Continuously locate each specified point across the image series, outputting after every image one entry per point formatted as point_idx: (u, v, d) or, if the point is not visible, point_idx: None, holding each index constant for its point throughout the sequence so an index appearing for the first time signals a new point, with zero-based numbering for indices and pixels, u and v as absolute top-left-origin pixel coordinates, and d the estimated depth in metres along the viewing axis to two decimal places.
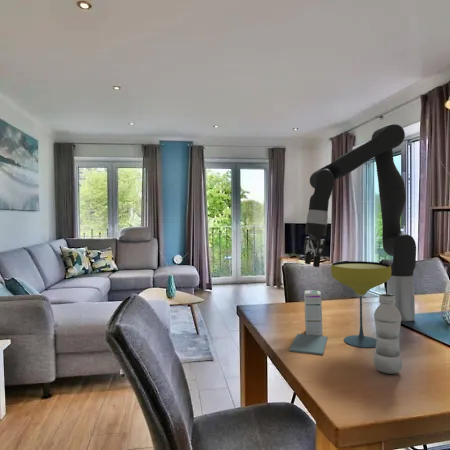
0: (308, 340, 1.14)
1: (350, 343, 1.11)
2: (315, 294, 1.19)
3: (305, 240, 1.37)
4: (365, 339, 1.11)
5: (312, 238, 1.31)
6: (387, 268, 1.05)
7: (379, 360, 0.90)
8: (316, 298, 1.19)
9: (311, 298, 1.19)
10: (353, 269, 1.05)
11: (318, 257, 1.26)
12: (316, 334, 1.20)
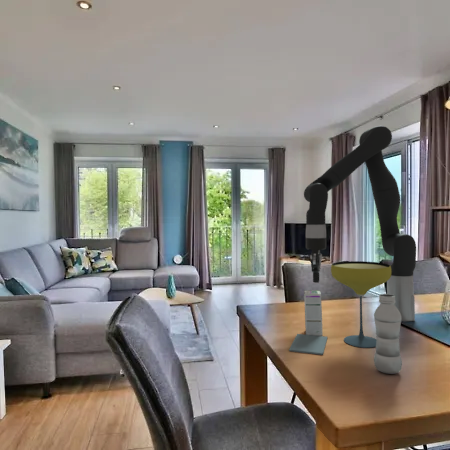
0: (308, 340, 1.14)
1: (350, 343, 1.11)
2: (315, 294, 1.19)
3: None
4: (365, 339, 1.11)
5: None
6: (387, 268, 1.05)
7: (379, 360, 0.90)
8: (316, 298, 1.19)
9: (311, 298, 1.19)
10: (353, 269, 1.05)
11: (315, 273, 1.31)
12: (316, 334, 1.20)
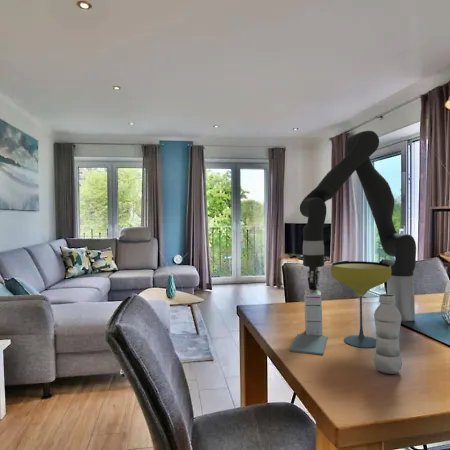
0: (308, 340, 1.14)
1: (350, 343, 1.11)
2: (315, 295, 1.18)
3: None
4: (365, 339, 1.11)
5: None
6: (387, 268, 1.05)
7: (379, 360, 0.90)
8: (316, 299, 1.18)
9: (311, 299, 1.19)
10: (353, 269, 1.05)
11: None
12: (316, 334, 1.19)
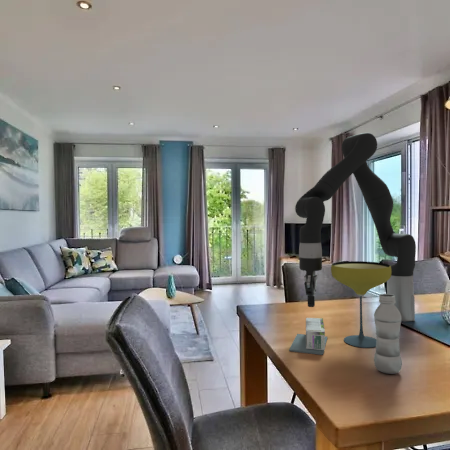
0: None
1: (350, 343, 1.11)
2: None
3: None
4: (365, 339, 1.11)
5: None
6: (387, 268, 1.05)
7: (379, 360, 0.90)
8: None
9: None
10: (353, 269, 1.05)
11: (310, 296, 1.18)
12: None
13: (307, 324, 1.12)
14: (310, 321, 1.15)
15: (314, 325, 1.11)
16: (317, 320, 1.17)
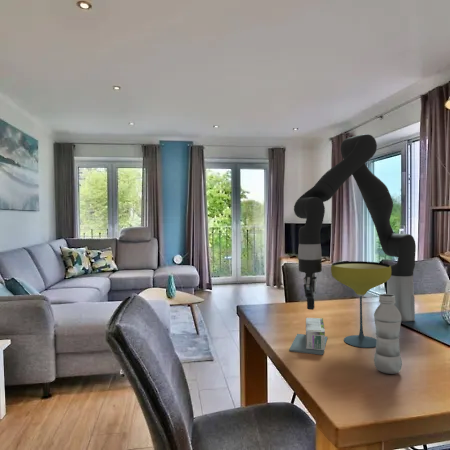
0: None
1: (350, 343, 1.11)
2: None
3: None
4: (365, 339, 1.11)
5: None
6: (387, 268, 1.05)
7: (379, 360, 0.90)
8: None
9: None
10: (353, 269, 1.05)
11: (310, 299, 1.15)
12: None
13: (307, 324, 1.12)
14: (310, 321, 1.15)
15: (314, 325, 1.11)
16: (317, 320, 1.17)
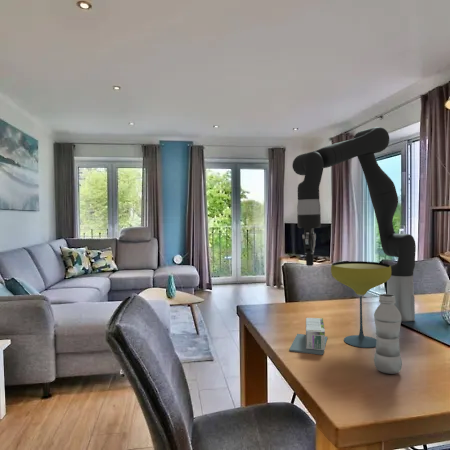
0: None
1: (350, 343, 1.11)
2: None
3: None
4: (365, 339, 1.11)
5: None
6: (387, 268, 1.05)
7: (379, 360, 0.90)
8: None
9: None
10: (353, 269, 1.05)
11: (309, 255, 1.15)
12: None
13: (307, 324, 1.12)
14: (310, 321, 1.15)
15: (314, 325, 1.11)
16: (317, 320, 1.17)
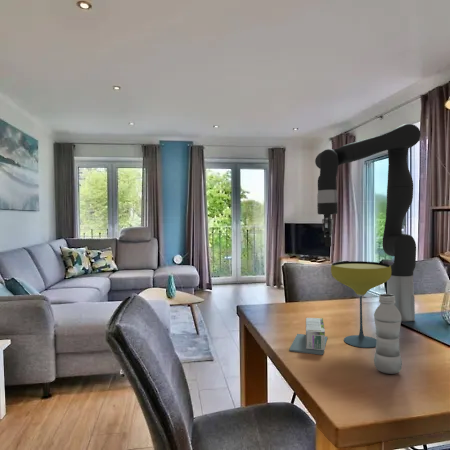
0: None
1: (350, 343, 1.11)
2: None
3: None
4: (365, 339, 1.11)
5: None
6: (387, 268, 1.05)
7: (379, 360, 0.90)
8: None
9: None
10: (353, 269, 1.05)
11: (327, 237, 1.35)
12: None
13: (307, 324, 1.12)
14: (310, 321, 1.15)
15: (314, 325, 1.11)
16: (317, 320, 1.17)
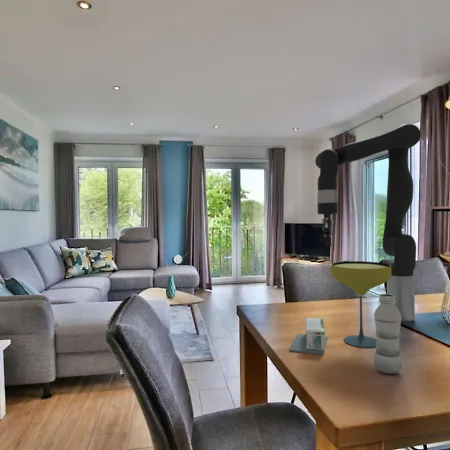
0: None
1: (350, 343, 1.11)
2: None
3: None
4: (365, 339, 1.11)
5: None
6: (387, 268, 1.05)
7: (379, 360, 0.90)
8: None
9: None
10: (353, 269, 1.05)
11: (327, 237, 1.35)
12: None
13: (307, 324, 1.12)
14: (310, 321, 1.15)
15: (314, 325, 1.11)
16: (317, 320, 1.17)
